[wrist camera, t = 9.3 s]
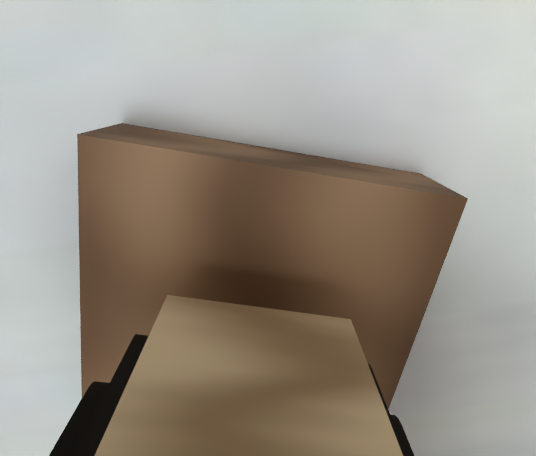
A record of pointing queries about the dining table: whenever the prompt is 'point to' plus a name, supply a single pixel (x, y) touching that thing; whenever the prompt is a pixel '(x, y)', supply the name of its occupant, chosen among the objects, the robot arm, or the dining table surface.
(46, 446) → the dining table surface
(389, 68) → the dining table surface
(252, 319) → the maple cube
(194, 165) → the walnut block
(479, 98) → the dining table surface
